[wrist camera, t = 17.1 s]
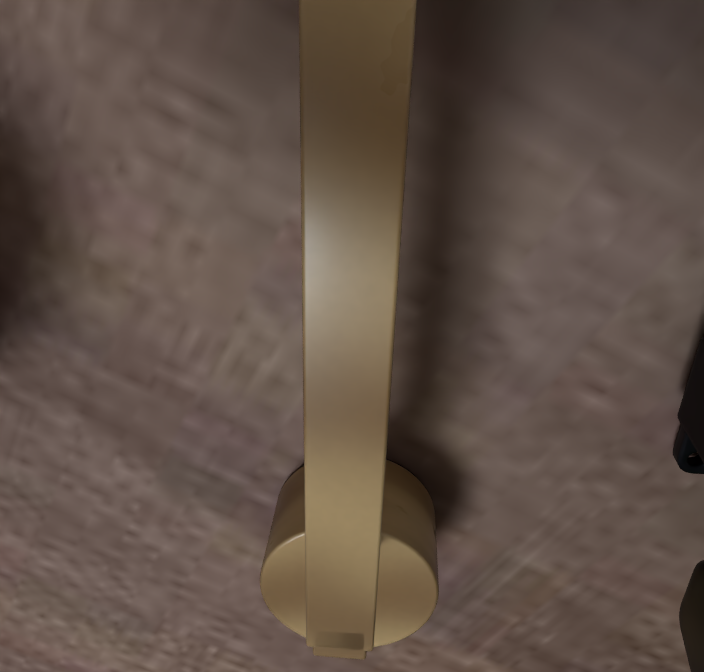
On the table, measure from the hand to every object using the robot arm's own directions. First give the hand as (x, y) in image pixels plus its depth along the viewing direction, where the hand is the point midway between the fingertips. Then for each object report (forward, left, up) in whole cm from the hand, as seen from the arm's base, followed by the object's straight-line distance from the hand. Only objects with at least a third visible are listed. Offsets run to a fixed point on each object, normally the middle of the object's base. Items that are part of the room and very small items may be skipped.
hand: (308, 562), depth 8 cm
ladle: (0, +2, -10) cm, 10 cm away
